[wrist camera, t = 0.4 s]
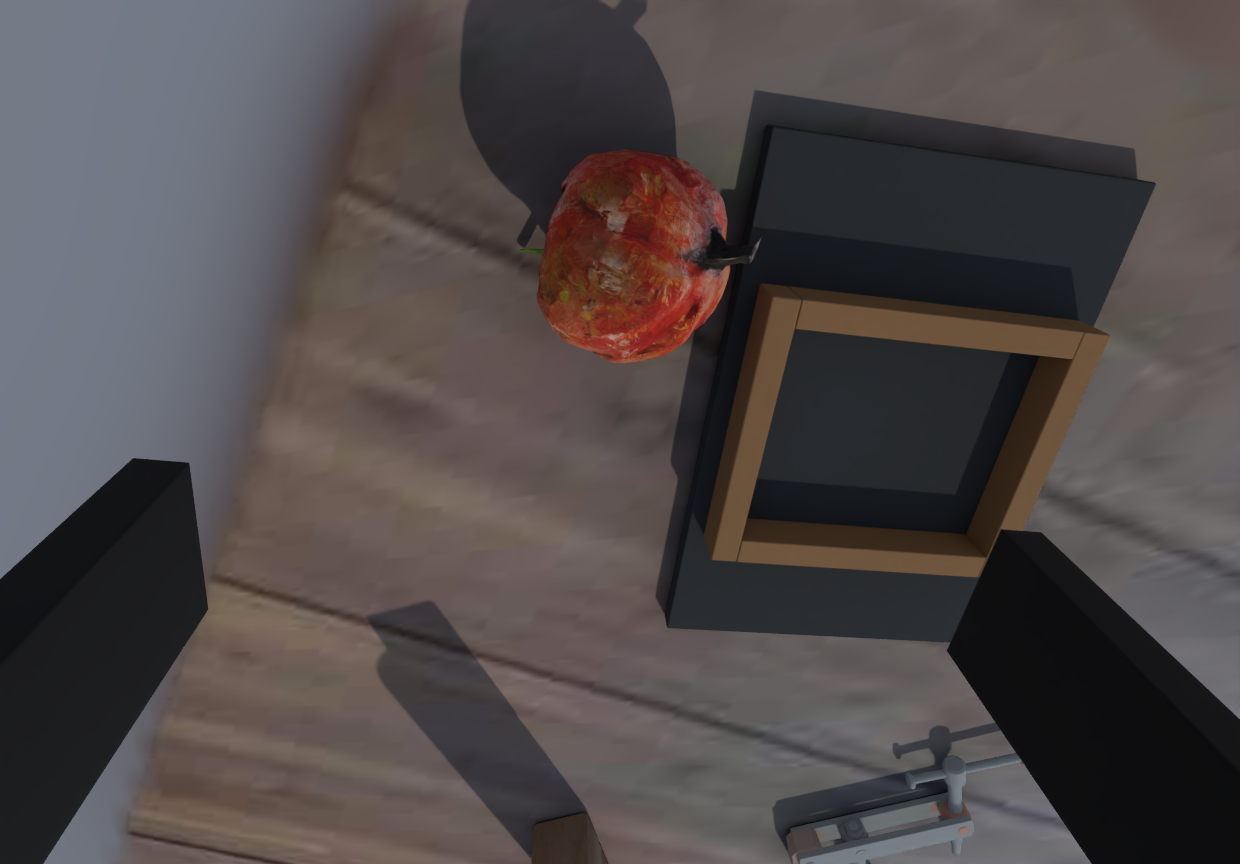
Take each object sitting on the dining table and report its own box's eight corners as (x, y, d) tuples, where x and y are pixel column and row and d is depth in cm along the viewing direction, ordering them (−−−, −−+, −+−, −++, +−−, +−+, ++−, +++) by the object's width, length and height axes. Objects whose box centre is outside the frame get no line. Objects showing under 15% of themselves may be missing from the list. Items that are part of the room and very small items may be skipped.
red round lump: (570, 325, 33) (778, 366, 28) (453, 351, 27) (692, 409, 22) (577, 150, 30) (807, 161, 25) (450, 136, 24) (718, 147, 19)
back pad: (766, 124, 28) (788, 130, 25) (1139, 179, 30) (1197, 190, 27) (664, 615, 38) (672, 656, 35) (946, 630, 40) (974, 670, 37)
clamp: (804, 915, 47) (785, 820, 43) (794, 881, 49) (775, 787, 45) (1030, 864, 47) (1036, 762, 42) (1011, 832, 49) (1014, 732, 44)
